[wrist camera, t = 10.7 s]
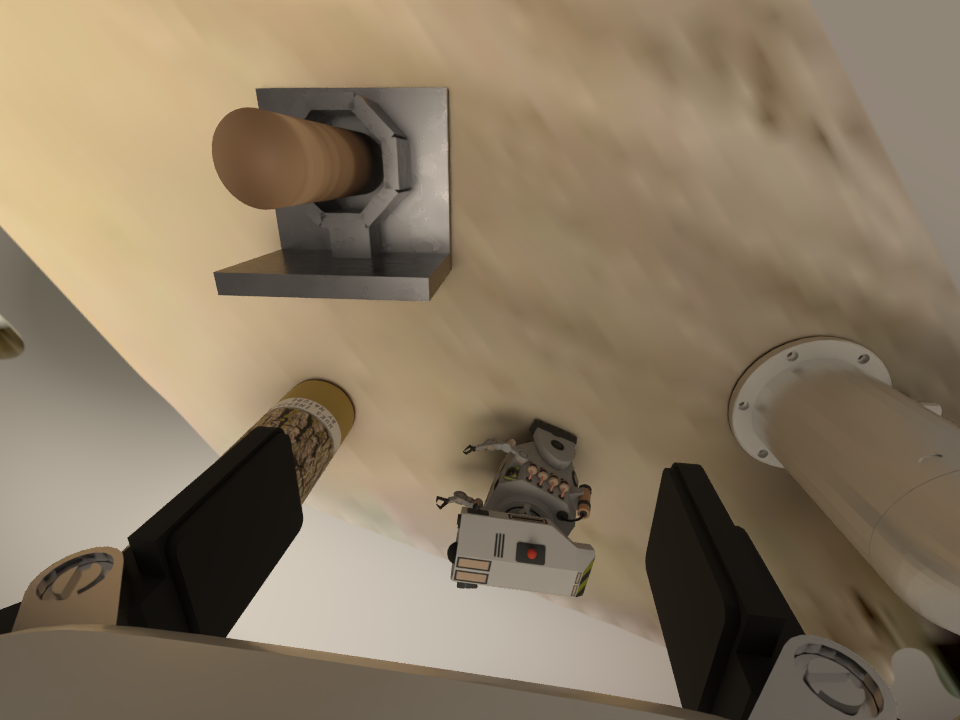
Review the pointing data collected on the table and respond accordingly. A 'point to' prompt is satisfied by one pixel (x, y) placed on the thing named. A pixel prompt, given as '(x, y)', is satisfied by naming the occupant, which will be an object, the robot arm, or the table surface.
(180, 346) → the table surface
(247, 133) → the brown wooden cylinder
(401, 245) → the bracket
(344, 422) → the paper tube
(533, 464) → the figurine
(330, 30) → the table surface
